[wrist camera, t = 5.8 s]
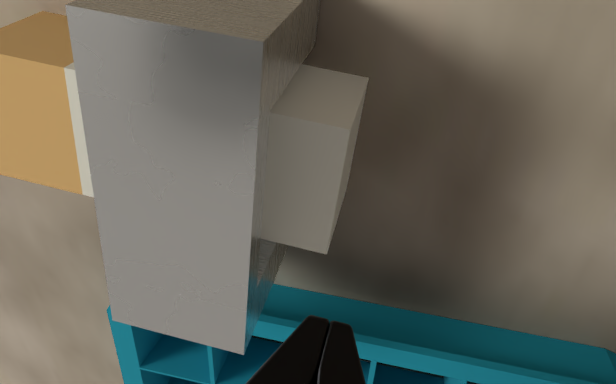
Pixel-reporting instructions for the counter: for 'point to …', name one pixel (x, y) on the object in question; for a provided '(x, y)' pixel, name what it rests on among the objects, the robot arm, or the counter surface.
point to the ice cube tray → (369, 348)
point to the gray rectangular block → (185, 153)
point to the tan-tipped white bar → (281, 140)
